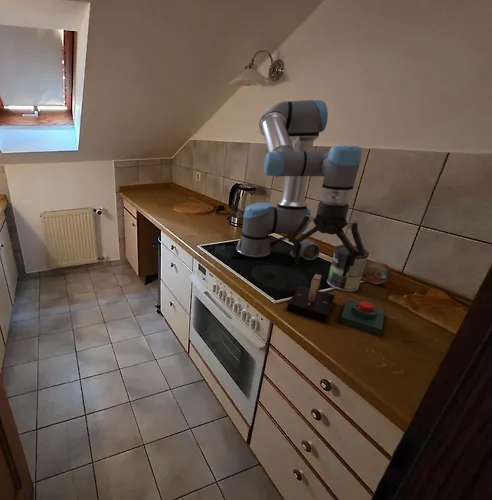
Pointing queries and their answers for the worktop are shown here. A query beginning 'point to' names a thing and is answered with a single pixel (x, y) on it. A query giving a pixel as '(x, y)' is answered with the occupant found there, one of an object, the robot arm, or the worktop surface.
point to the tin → (376, 272)
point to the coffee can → (353, 272)
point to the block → (363, 317)
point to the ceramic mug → (308, 250)
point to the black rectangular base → (311, 304)
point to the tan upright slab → (314, 288)
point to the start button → (365, 306)
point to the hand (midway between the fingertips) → (319, 268)
